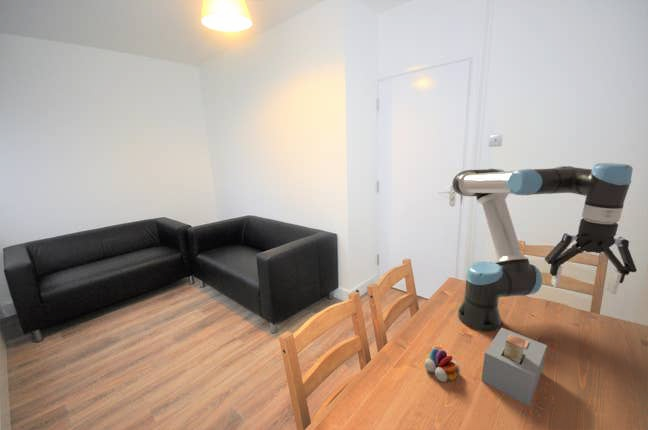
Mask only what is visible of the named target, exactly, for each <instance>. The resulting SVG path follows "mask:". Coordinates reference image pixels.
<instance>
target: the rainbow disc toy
mask: <svg viewBox="0 0 648 430" xmlns="http://www.w3.org/2000/svg"><path fill="white" fill-rule="evenodd" d="M447 353H448V352H446V351H445V349H438V348H432V349H431V350H430V353H429V355H428V357H427V358H426V359H425V361H424V367H425V369H426V370H427V371H428V372H430V373H434V375H435V377H436V380H439V381H440V382H443V383H444V382H447V381H448V380H451V381H452V380H456V379H457V375H459V374H460V373H461V366H460V365H459V363H458V362H456V360H453V356H452V355H448V354H447Z"/></svg>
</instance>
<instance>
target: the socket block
mask: <svg viewBox="0 0 648 430" xmlns="http://www.w3.org/2000/svg"><path fill="white" fill-rule="evenodd" d="M509 334H511V335H513V336H516V337H518V338H521V339H523V340H526V341H525V345H524V351H523V356H522V362H521V364H519V363H516V362H514V361H512V360H510V359H508V358H506V357H503V356H504V350H505V343H506V339H507V337H508V336H509ZM547 347H548V344H546V343H545V344H544V343H542V342H539V341H537V340H534V339H532V338H529V337H526V336H525V335H521V334H519V333H517V332H514V331H512V330H509V329H506V328H504V327H501V326H500V328H499V329H498V332H497V334H496V335H495V336H494V338H493V340H492V341H491V342H490V344H489V345H488V347H487V349H486V350H485V352H484V358H483V366H482V371H481V372H482V373H481V378H480V379H481V380H480V381H481V382H483V383H485V384H486V385H489V386H490V387H493V388H495V389H497V390H499V391H500V392H502V393H504V394H505V395H507V396H509V397H511V398H513V399H514V400H517V401H519V402H521V403H523V404H524V405H526V406H527V407H530V406H531V403H532V401H533V398H534V395H535V392H536V389H537V387H538V384H539V382H540V378H541V377H542V376H541V375H542V373H543V368H544V363H545V359H546V358H545V357H546V353H547Z"/></svg>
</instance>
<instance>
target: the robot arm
mask: <svg viewBox="0 0 648 430" xmlns="http://www.w3.org/2000/svg"><path fill="white" fill-rule="evenodd" d="M633 171H634V170H633V166H631V164H625V163H612V162H604V163H603V162H599V163H595V164H594V165H593V167H592V169H591V168H581V167H575V166H568V165H567V166H564V165H563V166H561V165H560V166H557V167H556V166H555V168H535V169H533V168H532V169H530V168H527V169H526V168H525V169H518V170H509V171H505V170H504V169H499V168H488V169H487V168H486V169H483V168H482V169H466V170H462V171H460V172H458V173H457V174H456V175H455V176H454V178H453V180H452V183H451V185H452V189H453V190H454V192H455V193H456V194H458V195H460V196H462V197H476V201H477V203H478V204H481V205H482V208H483V211H484V215H485V218H486V221H487V226H488V229H489V234H490V236H491V241H492V243H493V248H494V251H495V255H496V260H495V261H494V262H493V261H492V262H491V261H489V262H488V261H477V262H476V261H475V262H473V263H472V264H470V265H469V266H468V267H467V271H466V276H465V287H464V288H465V289H464V290H465V291H464V298H463V300H462V302H461V304H460V305H459V307H458V311H457V317H458V319H459V321H460V322H462V324H464V325H465V326H467V327H470V328H472V329H474V330H478V331H482V332H495V331H497V330H500V329H501V326H502V325H501V322H502V318H501V313H500V310H499V300H500V298H506V297H508V298H509V297H520V296H521V297H526V296H528V295H529V296H531V295H534V294H536V293H538V292H539V291H540V289H541V287H542V285H543V277H542V273H541V271H540V269H539V268H538V267H537V266H536V265H534V264H531V263H530V260H529V258H528V257H526V256H524V255H523V253H522V251H521V248H520V244H519V243H520V242H519V241H518V237H517V234H516V231H515V227H514V224H513V220H512V218H511V214H510V211H509V208H508V204H507V201H506V199H507V197H508V196H509V195H510V194H511V195H517V196H531V195H553V194H575V195H581V196H583V197H585V201H584V205H583V209H582V213H581V217H582V218H581V219H580V220H579V221H580V222H579V227H578V231H577V234H576V235H571V234H568V233H564V234H563V235H562V237H561V240H560V241H559V243H557V245H555V246H554V247H553V249H551V251H550V252H549V253H548V254H547V255H546V257H544V261H545V262H546V263H547V264H549V265H551V266H550V269H549V274H550V275H551V276H552V277H551V281H550V283H551V285H552V286H553V287H554V288H559V284H560V279H561V275H562V271H563V266H561V265H563V264H565V263H566V262H568V261H569V260H571V259H572V258H574V257H575V256H577V255H578V254H582V253H583V252H586V253H596V254H601V253H603V255H605V257H606V258H607V259H608V260H609V261H610V262H611V264H612V265H613V266H614V267H615V268H616V269H615V268H614V269H613V268H612V270H611V273H610V277H609V280H608V284H607V287H606V290H607V291H608V292H609V293H610V294H612V295H617V291H618V289H619V285H620V284H623V282H624V280H625V277H626V276H628V275H629V274H630V273H636V272H637V271H638V270H637V267H636V265H635V262H634V260H633V257H632V254H631V251H630V249H629V245H630V241H629V240H628V239H626V238H624V237H622V236H619V237H618V238H615V236H616V235H617V231H618V228H619V224H618V222H620V220H621V216H622V213H623V210H624V209H623V208H624V205H625V204H624V203H625V200H626V198H627V195H628V191H629V189H630V185H631V183H632V176H633ZM574 241H575V243H574ZM572 243H574V244H572ZM571 244H572V245H571ZM570 245H571V247H569V246H570ZM614 245H615V246H616V247H617V249H618V252H619V255H620V257H621V260H622V262H623V264H622V262H621V261H620V260H619V259H618V257H617V256H616V255H615V254H614V252H613V251H612V249H611V248H610V247H612V246H614ZM568 247H569V248H568ZM565 250H566V251H565Z"/></svg>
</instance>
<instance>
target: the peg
mask: <svg viewBox="0 0 648 430" xmlns="http://www.w3.org/2000/svg"><path fill="white" fill-rule="evenodd" d="M525 341H526V340H523V339H521V338H518V337H516V336H513V335H511V334H509V336H508V337H507V339H506V343H505V350H504V356H503V357H506V358H508V359H510V360H512V361H514V362H516V363H519V364H521V362H522V356H523V351H524V345H525Z"/></svg>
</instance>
